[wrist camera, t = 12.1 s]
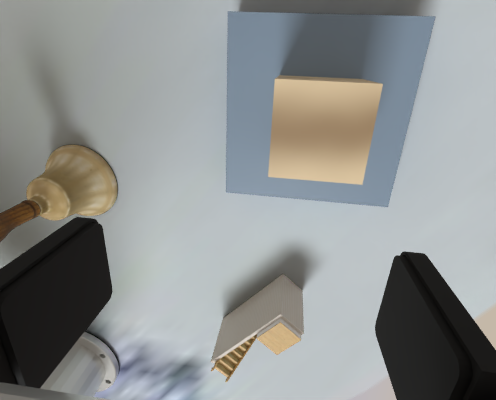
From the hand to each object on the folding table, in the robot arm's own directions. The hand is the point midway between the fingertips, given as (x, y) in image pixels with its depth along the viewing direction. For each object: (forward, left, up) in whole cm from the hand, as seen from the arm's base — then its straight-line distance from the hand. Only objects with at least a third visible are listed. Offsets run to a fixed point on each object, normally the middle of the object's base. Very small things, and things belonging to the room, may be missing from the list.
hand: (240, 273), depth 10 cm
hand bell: (-7, +21, -21) cm, 31 cm away
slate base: (+2, -3, -21) cm, 21 cm away
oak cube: (+2, -3, -17) cm, 18 cm away
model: (-21, 0, -22) cm, 30 cm away
